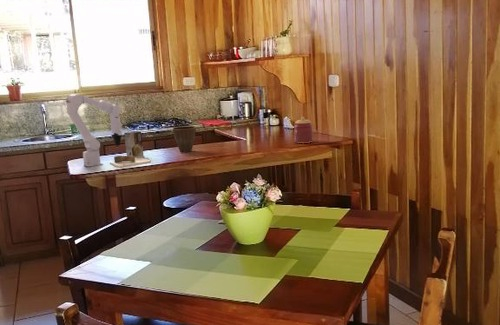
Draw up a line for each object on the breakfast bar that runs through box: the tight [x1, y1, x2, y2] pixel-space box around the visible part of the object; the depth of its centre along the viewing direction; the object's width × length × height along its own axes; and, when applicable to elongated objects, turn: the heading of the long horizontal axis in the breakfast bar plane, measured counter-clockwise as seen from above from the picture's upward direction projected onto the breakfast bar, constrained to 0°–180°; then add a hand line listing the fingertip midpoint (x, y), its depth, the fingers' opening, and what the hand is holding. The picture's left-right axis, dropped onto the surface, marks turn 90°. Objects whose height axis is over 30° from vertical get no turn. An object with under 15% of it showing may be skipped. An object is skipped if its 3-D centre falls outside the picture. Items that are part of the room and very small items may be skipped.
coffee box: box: [124, 130, 145, 158], centre depth 331 cm, size 9×6×16 cm
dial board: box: [109, 156, 152, 168], centre depth 312 cm, size 20×16×1 cm
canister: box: [293, 116, 314, 143], centre depth 351 cm, size 13×13×18 cm
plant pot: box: [172, 125, 196, 153], centre depth 341 cm, size 15×15×16 cm
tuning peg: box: [113, 155, 135, 162], centre depth 311 cm, size 13×4×3 cm, turn 75°
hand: (117, 145), depth 322 cm, fingers closed
